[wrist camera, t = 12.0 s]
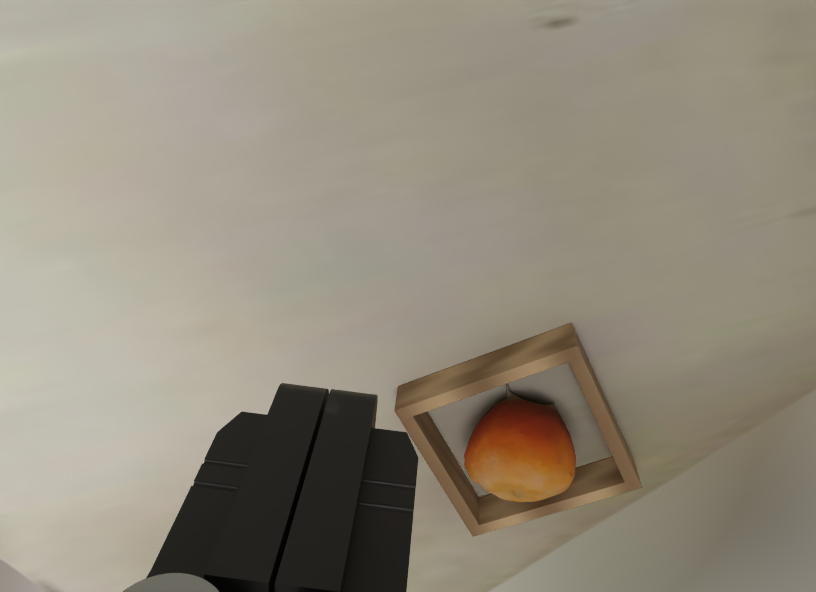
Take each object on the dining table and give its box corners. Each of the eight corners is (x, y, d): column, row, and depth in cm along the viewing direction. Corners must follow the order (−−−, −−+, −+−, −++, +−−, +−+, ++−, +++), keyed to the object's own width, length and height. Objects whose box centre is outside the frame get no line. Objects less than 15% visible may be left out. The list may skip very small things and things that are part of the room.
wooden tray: (571, 322, 50) (577, 345, 47) (633, 460, 55) (642, 487, 53) (398, 386, 54) (394, 410, 51) (472, 509, 59) (472, 536, 57)
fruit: (594, 385, 51) (591, 495, 47) (560, 421, 57) (554, 519, 53) (486, 363, 50) (473, 471, 46) (465, 401, 57) (452, 498, 53)
